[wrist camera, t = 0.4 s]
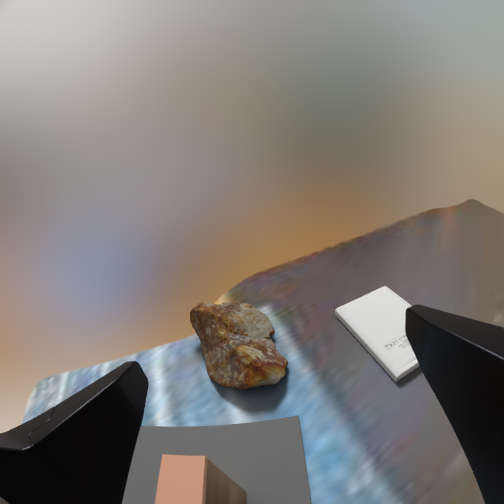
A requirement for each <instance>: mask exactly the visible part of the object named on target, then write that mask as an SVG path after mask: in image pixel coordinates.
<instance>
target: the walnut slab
mask: <svg viewBox="0 0 504 504" xmlns="http://www.w3.org/2000/svg"><path fill="white" fill-rule="evenodd" d="M155 504H247V497H246V491H245V490H244V489H243V488H241V487H240V486H239V485H238V484H236V483H235V482H234V481H233V480H232V479H230V478H229V477H228V476H227V475H226V474H225V473H224V472H222V471H221V470H220V469H219V468H218V467H217V466H216V465H215V464H214V463H212V462H211V461H210V460H209V459H208V458H207V457H206V456H186V455H164V454H162V460H161V466H160V472H159V478H158V485H157V492H156V499H155Z"/></svg>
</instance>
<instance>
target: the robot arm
mask: <svg viewBox="0 0 504 504" xmlns="http://www.w3.org/2000/svg"><path fill="white" fill-rule="evenodd" d="M405 333H406V337H407V339H408V341H409V343H410V345H411V347H412V350H413V352H414V354H415V356H416V359H417V361H418V363H419V366H420V368H421V370H422V372H423V374H424V376H425V378H426V379H427V381H428V383H429V384H430V386H431V388H432V390H433V392H434V393H435V395H436V397H437V399H438V401H439V402H440V404H441V406H442V408H443V410H444V412H445V414H446V416H447V418H448V420H449V421H450V423H451V425H452V427H453V429H454V431H455V433H456V435H457V438H458V440H459V442H460V444H461V446H462V448H463V450H464V452H465V455H466V457H467V459H468V461H469V464H470V466H471V468H472V470H473V471H474V472H473V473H474V476H475V478H476V481H477V483H478V486H479V488H480V491H481V493H482V496H483V499H484V502H485V504H504V329H503V327H500V326H496V325H492V324H488V323H485V322H481V321H477V320H473V319H470V318H466V317H462V316H459V315H455V314H451V313H447V312H444V311H440V310H436V309H433V308H429V307H425V306H422V305H414V306H411V307H408V308H407V309H406V313H405ZM147 391H148V379H147V377H146V375H145V373H144V372H143V370H142V368H141V366H140V365H139V363H138V362H136V361H130V362H125V363H124V364H122V365H121V366H119V367H117V368H116V369H114V370H113V371H111V372H110V373H108V374H106V375H105V376H103V377H102V378H100V379H98V380H97V381H95V382H94V383H92V384H90V385H89V386H87V387H86V388H84V389H82V390H81V391H79V392H77V393H76V394H74V395H72V396H71V397H69V398H68V399H66V400H64V401H63V402H61V403H59V404H58V405H56V406H55V407H53V408H51V409H49V410H48V411H46V412H44V413H42V414H41V415H39V416H37V417H35V418H33V419H31V420H29V421H27V422H25V423H23V424H21V425H20V426H17V427H16V428H13V429H11V430H9V431H7V432H4V433H1V434H0V504H122V502H123V497H124V493H125V488H126V483H127V479H128V475H129V471H130V466H131V462H132V458H133V454H134V450H135V446H136V442H137V439H138V435H139V431H140V427H141V424H142V419H143V414H144V408H145V402H146V396H147Z"/></svg>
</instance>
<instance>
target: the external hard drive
mask: <svg viewBox="0 0 504 504" xmlns="http://www.w3.org/2000/svg"><path fill="white" fill-rule="evenodd" d="M408 307H411V305H410V304H408V303H407V302H406V301H405V300H403V299H402V298H401V297H399V296H398V295H397V294H395V293H394V292H393V291H391V290H390V289H389V288H388V287H386V286H384V287H381V288H379V289H377V290H375V291H373V292H371V293H369V294H367V295H365V296H363V297H360V298H358V299H356V300H354V301H352V302H349V303H347V304H345V305H343V306H340V307H339V308H337V309H336V310H335V316H336V317H337V318H338V319H339V320H340V321H341V322H342V323H343V324H344V325H345V326H346V328H347V329H348V330H349V331H350V332H351V333H352V334H353V335H354V336H355V337H356V339H357V340H358V341H359V342H360V343H361V344H362V345H363V346H364V347H365V349H366V350H367V351H368V352H369V353H370V354H371V355H372V356H373V357H374V359H375V360H376V361H377V362H378V363H379V364H380V365H381V366H382V367H383V369H384V370H385V371H386V372H387V373H388V374H389V375H390V377H391V378H392V379H393V380H394V381H395V382H397V381H398V380H400V379H401V378H403V377H404V376H406V375H407V374H409V373H410V372H412V371H413V370H415V369H416V368H417V367H419V363H418V361H417V359H416V356H415V354H414V352H413V350H412V347H411V345H410V343H409V341H408V339H407V337H406V333H405V313H406V309H407V308H408Z"/></svg>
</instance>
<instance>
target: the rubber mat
mask: <svg viewBox="0 0 504 504" xmlns="http://www.w3.org/2000/svg"><path fill="white" fill-rule="evenodd" d="M162 454H164V455H186V456H206V457H207V458H208V459H209V460H210V461H211V462H212V463H214V464H215V465H216V466H217V467H218V468H219V469H220V470H221V471H222V472H224V473H225V474H226V475H227V476H228V477H229V478H230V479H232V480H233V481H234V482H235V483H236V484H238V485H239V486H240V487H241V488H243V489H244V490H245V491H246V497H247V504H311V498H310V491H309V484H308V476H307V470H306V463H305V456H304V449H303V443H302V436H301V429H300V423H299V417H298V416H292V417H287V418H281V419H274V420H267V421H260V422H252V423H243V424H232V425H219V426H198V427H158V426H141V427H140V431H139V435H138V439H137V442H136V446H135V450H134V454H133V458H132V462H131V466H130V471H129V475H128V479H127V483H126V488H125V493H124V497H123V502H122V504H155V499H156V492H157V485H158V478H159V472H160V466H161V460H162Z"/></svg>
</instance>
